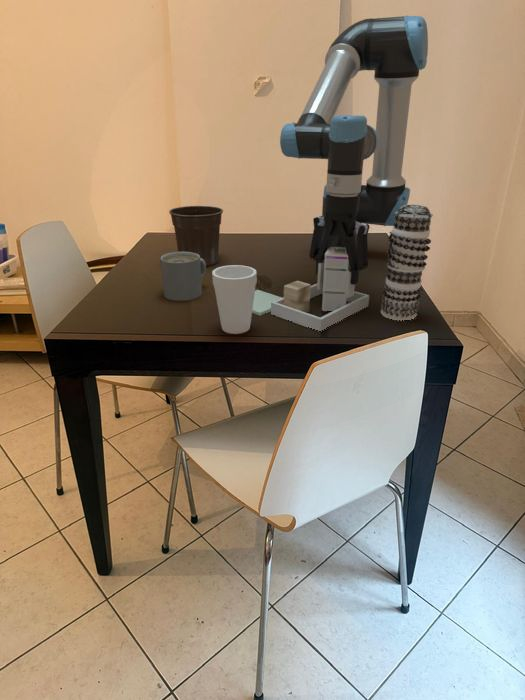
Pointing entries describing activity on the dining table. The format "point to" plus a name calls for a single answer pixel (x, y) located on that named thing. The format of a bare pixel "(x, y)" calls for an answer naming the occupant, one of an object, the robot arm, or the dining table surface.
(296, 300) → the beech block
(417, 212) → the decorative candle
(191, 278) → the coffee mug
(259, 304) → the sage pad
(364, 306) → the parts bin
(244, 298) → the foam cup
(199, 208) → the plant pot
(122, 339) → the dining table surface
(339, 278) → the syrup box
